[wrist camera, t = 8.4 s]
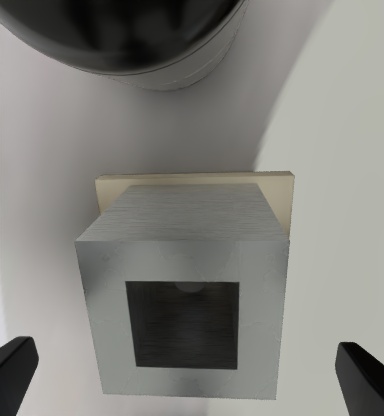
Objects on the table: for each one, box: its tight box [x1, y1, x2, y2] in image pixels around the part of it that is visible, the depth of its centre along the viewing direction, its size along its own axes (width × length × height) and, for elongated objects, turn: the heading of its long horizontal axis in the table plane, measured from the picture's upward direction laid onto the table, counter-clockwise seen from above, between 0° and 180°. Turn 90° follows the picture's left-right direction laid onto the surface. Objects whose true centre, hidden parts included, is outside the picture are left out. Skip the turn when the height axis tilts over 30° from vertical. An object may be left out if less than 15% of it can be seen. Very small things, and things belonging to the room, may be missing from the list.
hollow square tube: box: [75, 183, 290, 400], centre depth 13 cm, size 6×6×6 cm
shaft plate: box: [95, 171, 294, 292], centre depth 14 cm, size 7×10×5 cm
